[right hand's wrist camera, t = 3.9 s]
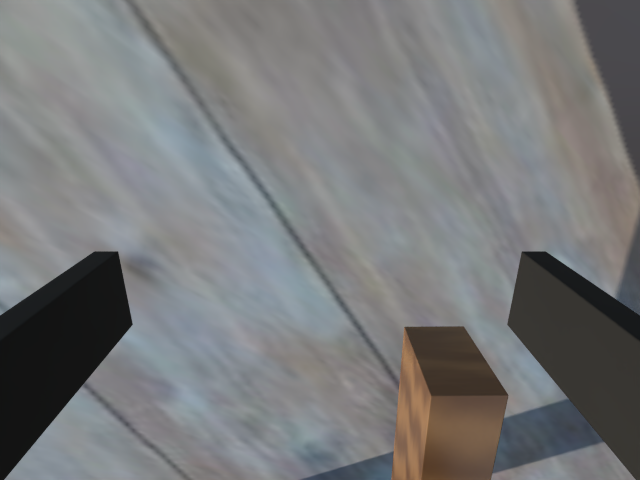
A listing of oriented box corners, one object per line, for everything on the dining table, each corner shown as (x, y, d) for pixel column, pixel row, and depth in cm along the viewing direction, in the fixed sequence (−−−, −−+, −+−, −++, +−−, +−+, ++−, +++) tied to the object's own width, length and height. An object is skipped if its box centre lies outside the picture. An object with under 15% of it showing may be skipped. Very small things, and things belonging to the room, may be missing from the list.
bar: (404, 326, 35) (431, 395, 27) (463, 326, 35) (508, 395, 27) (389, 500, 43) (406, 595, 35) (438, 500, 43) (466, 595, 35)
